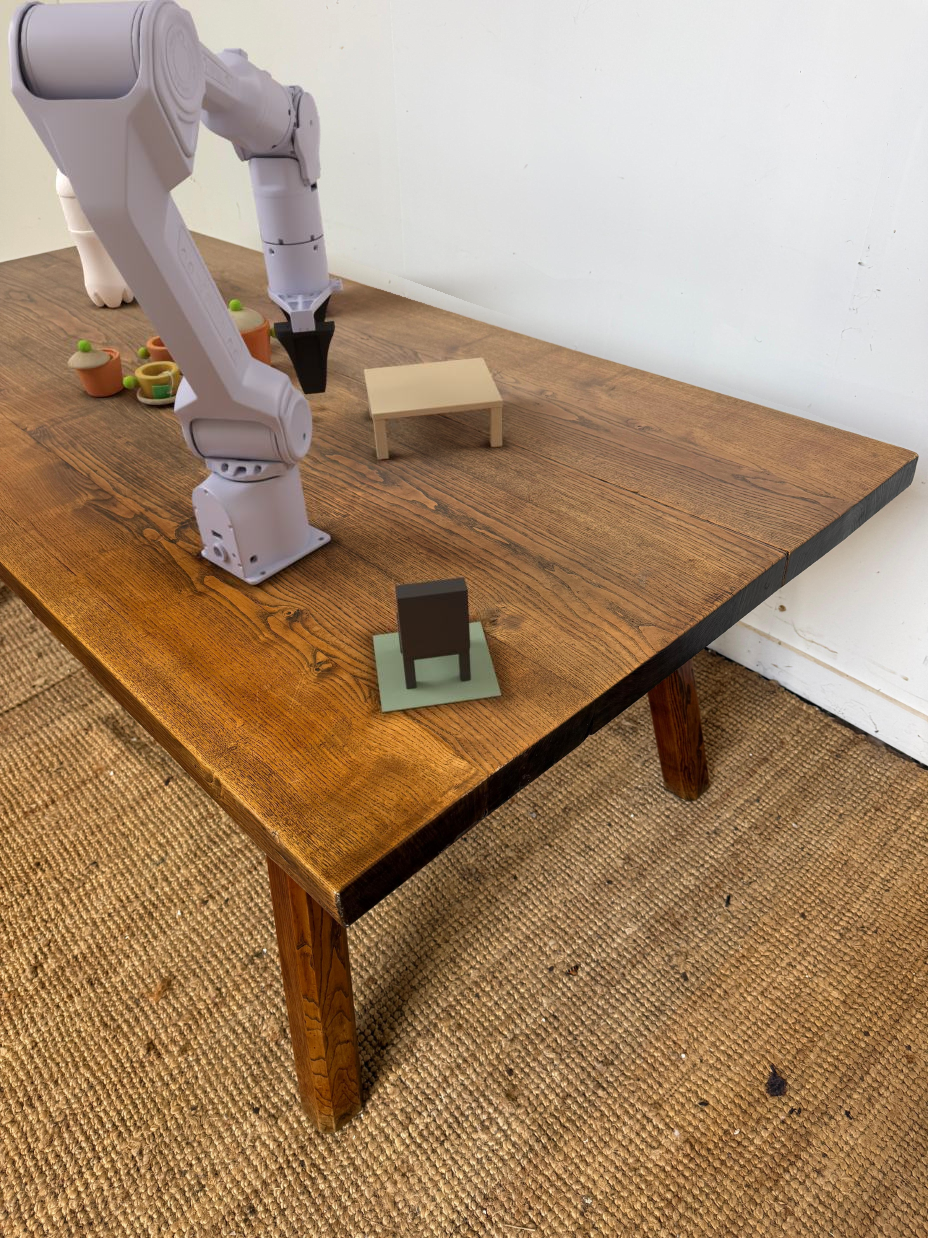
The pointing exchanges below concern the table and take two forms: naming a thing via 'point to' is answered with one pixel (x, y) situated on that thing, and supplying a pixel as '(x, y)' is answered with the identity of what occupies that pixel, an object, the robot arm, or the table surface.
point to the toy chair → (433, 624)
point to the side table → (432, 394)
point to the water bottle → (92, 252)
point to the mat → (433, 675)
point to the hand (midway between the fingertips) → (313, 376)
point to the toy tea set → (161, 361)
